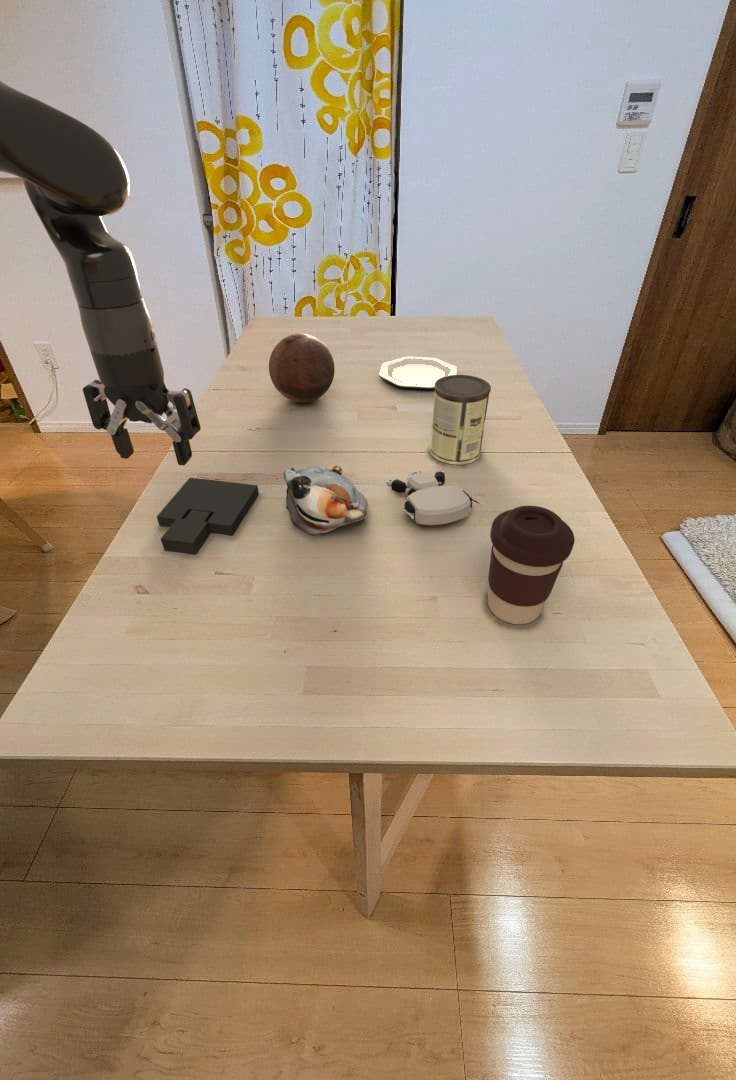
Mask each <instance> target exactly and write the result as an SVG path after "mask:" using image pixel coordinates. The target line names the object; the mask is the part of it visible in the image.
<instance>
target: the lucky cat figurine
mask: <svg viewBox="0 0 736 1080" xmlns="http://www.w3.org/2000/svg"><path fill="white" fill-rule="evenodd" d="M343 473H344V472H343V468H342V467H341V466H340V465H334V466H333V467H332V469H329V468H327V467H323V466H320V465H310V466H307V467H305V468H301V469H299V470H296V469H295V468H294V467H289V468H287V469H286V470H284V471H283V474H282V475H283V479H284V481H285V484H286V496H285V509H286V510H287V512H288V513H289V517H290V520H291V523H292V525H294V526H295V527H297V528H299V529H301V530H302V531H304V532H305V533H306V534H309V535H312V536H315V535H317V534H327V533H329V532H331V531H334V530H335V529H337V528H338V529H339V528H340V527H343V526H346V525H350V524H354V523H357V522H361V521H363V520H365V518H366V516H367V509H368V500H367V498H366V497H365V495H364V494H363V493H362V492H361V491H360V490H359V489H358V488H357V487H356V485H355V484H354V483H353V482H352V480H351V479H350V478H349V477H348V476H347V475H345V474H343Z"/></svg>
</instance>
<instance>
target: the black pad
mask: <svg viewBox="0 0 736 1080" xmlns="http://www.w3.org/2000/svg"><path fill="white" fill-rule="evenodd" d="M210 518H211V513H210V512H203V511H195V510H191V512H190V513H189V514H188V515H187V517H186V518H185V519H180V518H177V519H176V520H175V521H174V523H173V524H172V525H171V526H170V527H168V529H167V530H166V531H165V533H164V534H163V535H162V536H161V538H160V541H161V545H162V548H163V551H166V552H173V553H179V554H188V555H193V556H194V555H195V556H196V555H197V554H198V553H199V551H200V550H201V548H202V547H203V546H204V544H205V542H207V540H208V538H209V537H210V535H211V534H212V533H210V529H209V525H208V520H209V519H210Z"/></svg>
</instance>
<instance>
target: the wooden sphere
mask: <svg viewBox="0 0 736 1080" xmlns="http://www.w3.org/2000/svg"><path fill="white" fill-rule="evenodd" d="M335 368H336V367H335V361H334V357H333V355H332V352H331V350H330V349H329V348H328V346H327V345H326V343H324V342H323V341H322V340H320V339H319V338H317V337H315V336H313V335H312V334H307V333H293V334H289V335H287V336H286V337H284V338H282V339H281V340H279V341H278V342H277V343H276V344H275V346H274V348H273V349H272V351H271V353H270V356H269V360H268V373H269V377H270V380H271V383H272V384H273V387H274V388H275V390H277V392H278V393H280V395H282V396H283V397H285V398H286V399H287V400H290V401H292V402H297V403H309V402H314V401H316V400H318V399H320V398H321V397H322V396H324V395H325V394H326V393H327V391H329V388H330V387H331V385H332V383H333V381H334V378H335V371H336V369H335Z"/></svg>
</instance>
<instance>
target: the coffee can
mask: <svg viewBox="0 0 736 1080" xmlns="http://www.w3.org/2000/svg"><path fill="white" fill-rule="evenodd" d="M491 391H492V386H491V384H490V383H489V382H488V381H487V380H485V379H483V378H481V377H478V376H475V375H474V376H473V375H469V374H468V375H467V374H457V375H451V376H445V377H442V378H440V379H438V380H437V381H436V382H435V388H434V398H433V409H432V410H433V412H432V423H431V438H430V447H429V453H430V456H432V458H434V459H435V460H437V461H439V462H441V463H444V464H448V465H453V466H454V465H456V466H461V465H462V466H463V465H468V464H471V463H474V462H476V461H477V460H478V459H479V458H480V457H481V454H482V453H481V451H482V445H483V438H484V433H485V431H484V430H485V424H486V418H487V411H488V405H489V398H490V393H491Z"/></svg>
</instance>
